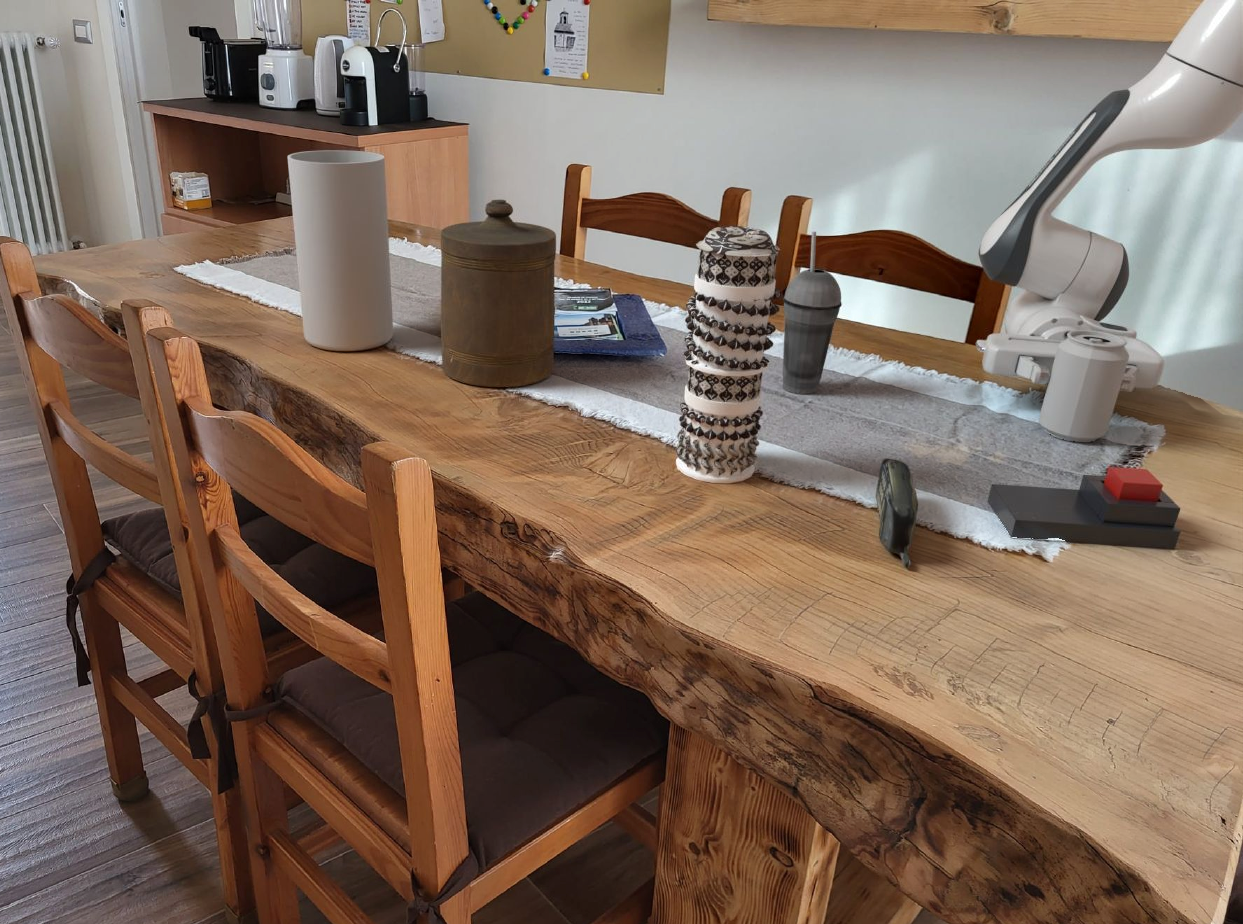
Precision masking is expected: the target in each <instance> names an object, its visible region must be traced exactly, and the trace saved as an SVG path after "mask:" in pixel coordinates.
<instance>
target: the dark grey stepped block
mask: <svg viewBox="0 0 1243 924" xmlns="http://www.w3.org/2000/svg"><path fill="white" fill-rule="evenodd" d="M1105 478H1106V475H1095V474H1083V476H1082V478H1081V481H1080V486H1079V488H1078V489H1073V488H1059V487H1057V488H1056V487H1044V486H1028V485H1014V484H1013V485H1012V484H1001V483H999V484H998V483H991V485H990V489H989V494H988V497H987V503H988V505H989V506H990V508H991V509H992V511H993V512H994V514H995V516H996V517H997V516H998V517H997V519H998V520H999V519H1000V520H999V522H1000V521H1001V522H1002V523H1001V522H1000V523H1001V525H1002V524H1003V525H1004V526H1003V525H1002V526H1003V528H1004V527H1005V528H1006V530H1007V531H1008V533H1009V534H1008V533H1007V534H1008V536H1009V535H1010V536H1011V537H1017V538H1031V539H1032V538H1033V539H1048V538H1059V539H1062V540H1065V541H1066V542H1065V543H1073V544H1086V545H1090V544H1091V545H1102V546H1115V547H1127V548H1129V547H1130V548H1144V549H1157V550H1171V551H1172V550H1173V551H1174V550H1175V549H1176V547H1177V544H1178V541H1179V538H1180V534H1181V530H1180V529H1179V528H1178V527H1177V526H1176V523H1177V520H1178V518H1179V514H1180V511H1181V507H1180V506H1179V505H1178V504H1177V503H1176V502H1175V501H1174V500H1173V499H1172V498H1171V497H1170V496H1169V495H1168V494H1167V493H1166V492H1165V491H1163V489H1162V490H1161V493H1160V496H1159V499H1158V502H1151V501H1137V500H1122V499H1116V497H1115V496H1114V495H1113V494H1112V493H1111V492H1110V491H1109V490H1108V489H1107V487H1106V486H1105V485H1104V481H1105ZM1005 528H1004V529H1005ZM1006 530H1005V531H1006ZM1007 531H1006V532H1007ZM1010 536H1009V537H1010ZM1011 537H1010V538H1011Z"/></svg>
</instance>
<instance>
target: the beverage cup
mask: <svg viewBox="0 0 1243 924" xmlns="http://www.w3.org/2000/svg"><path fill="white" fill-rule="evenodd" d="M816 243H817V231H811V244H810V247H811V248H810V265H809V266H810V268H808V269H805V270H802V271H801V272H799V273H798V274H796V275H795V276H794V277H793V278H792V279H791V280H790V281H789V283H788V284H787V287H786V290H785V292H784V296H783V298H782V301H783V316H784V332H783V353H782V354H783V355H782V389H783V390H785V391H787V392H788V393H792V394H797V395H812V394H816V393H817V392H818V390H819V385H820V381H821V379H822V375H823V372H824V368H825V362H826V360H827V355H828V352H829V347H830V343H831V338H832V334H833V330H834V326H835V324H836V321H837V319H838V316H839V314H840V308H841V307H842V305H843V303H842V291H841V287H840V285H839V283H838V281H837V279H836V278H835V277H834V275H832V274H831V273H830V272H828V271H826V270H825V269H821V268H815V266H816V245H817V244H816Z"/></svg>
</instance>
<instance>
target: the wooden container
mask: <svg viewBox="0 0 1243 924" xmlns="http://www.w3.org/2000/svg"><path fill="white" fill-rule="evenodd" d="M484 211H485V214H486V215H487V217H486V218H485V219H484V220H482V221H470V222H468V221H467V222H460V223H455V224H452V225H448V226H446V227H444V228H443V229H442V230H441V231H440V254H441V256H440V257H441V260H440V262H441V263H440V264H441V265H440V278H441V279H440V284H441V285H440V339H441V340H440V341H441V366H442V371H443V373H444V374H445V375H446V376H447V377H448V378H450V379H452V380H454V381H457V382H459V383H463V384H467V385H470V386H471V385H472V386H477V387H484V388H485V387H486V388H514V387H515V388H516V387H523V386H529V385H532V384H535V383H539V382H541V381H544V380H546V379H547V378H549V377H550V376H551V375H552V374H553V371H554V354H555V347H554V343H555V318H556V317H555V316H556V315H555V311H556V310H555V306H556V305H555V260H556V256H557V255H556V254H557V252H556V251H557V234H556V232H555V231H554V230H552V229H551V228H548V227H545V226H542V225H538V224H534V223H527V222H517V221H514V220H513V219H512V218H511V217H510V216H511V215H512V214H513V213H514V208H513V206H512V205H511V204H510V203H508V202H507V200H506V199H492V200H491V201H490V202H488V203H486V204H485V210H484Z"/></svg>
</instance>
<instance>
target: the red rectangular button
mask: <svg viewBox="0 0 1243 924" xmlns="http://www.w3.org/2000/svg"><path fill="white" fill-rule="evenodd" d="M1105 476H1106V478H1105V481H1104V485H1105V486H1106V487H1107V489H1108V490H1109V491H1110V492H1111V493H1112V494H1113V495H1114V496H1115V497H1116V499H1122V500H1137V501H1151V502H1158V499H1159V496H1160V493H1161V490H1163V487H1164V484H1162V482H1161V481H1159V480H1158V478H1157V477H1156V476H1154V475H1153V474H1152V473H1151V472H1150V471H1149V470H1148V469H1147V468H1134V467H1132V468H1131V467H1118V466H1117V467H1116V466H1108V469H1107V471H1106V475H1105Z"/></svg>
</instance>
